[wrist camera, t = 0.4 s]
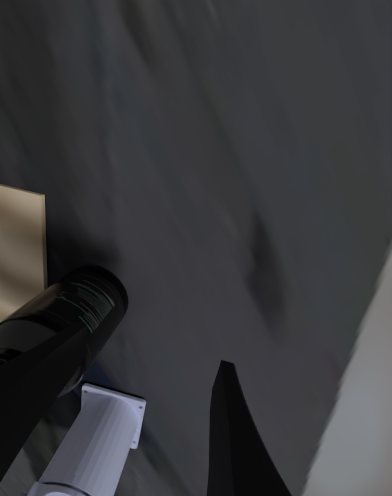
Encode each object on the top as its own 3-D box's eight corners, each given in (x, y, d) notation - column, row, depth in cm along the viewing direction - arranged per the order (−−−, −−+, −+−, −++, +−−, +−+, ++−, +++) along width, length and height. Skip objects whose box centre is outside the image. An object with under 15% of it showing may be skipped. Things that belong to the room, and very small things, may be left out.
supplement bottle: (99, 331, 25) (-2, 465, 14) (53, 285, 24) (-97, 393, 13) (143, 303, 23) (66, 433, 12) (97, 251, 22) (-39, 344, 11)
